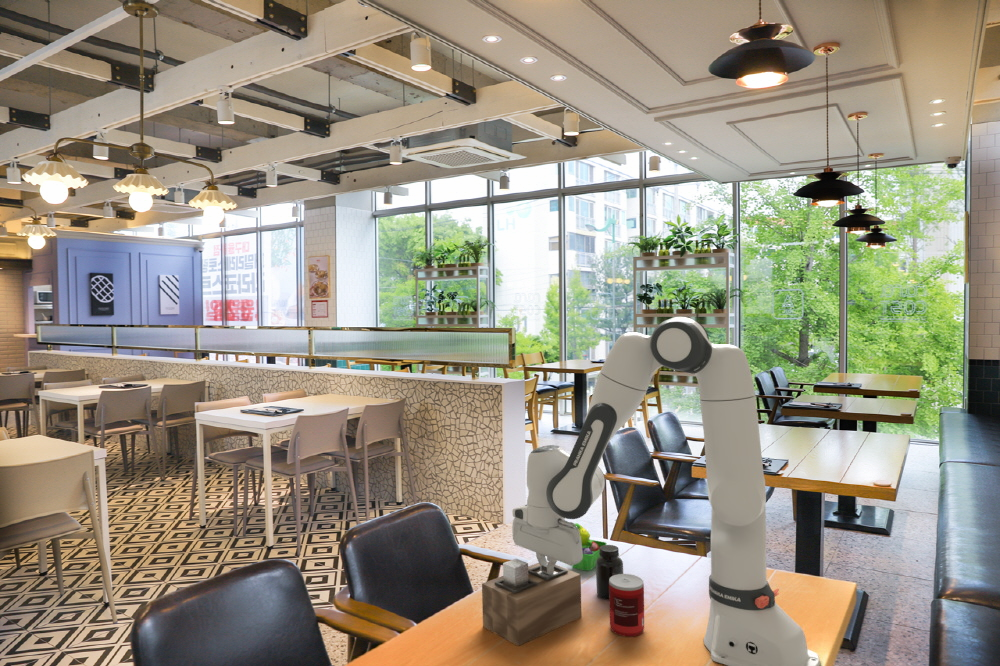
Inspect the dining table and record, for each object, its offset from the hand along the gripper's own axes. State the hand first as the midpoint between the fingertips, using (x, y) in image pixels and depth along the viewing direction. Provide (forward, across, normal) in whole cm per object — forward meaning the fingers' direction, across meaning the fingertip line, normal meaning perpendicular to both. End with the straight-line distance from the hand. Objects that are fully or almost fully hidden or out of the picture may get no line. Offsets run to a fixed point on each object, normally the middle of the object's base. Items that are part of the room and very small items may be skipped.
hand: (547, 572), depth 156 cm
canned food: (+10, -17, -8) cm, 21 cm away
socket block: (+10, 0, +5) cm, 11 cm away
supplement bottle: (+10, -3, -19) cm, 22 cm away
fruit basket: (+10, +15, -30) cm, 35 cm away
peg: (+4, 0, +10) cm, 11 cm away
